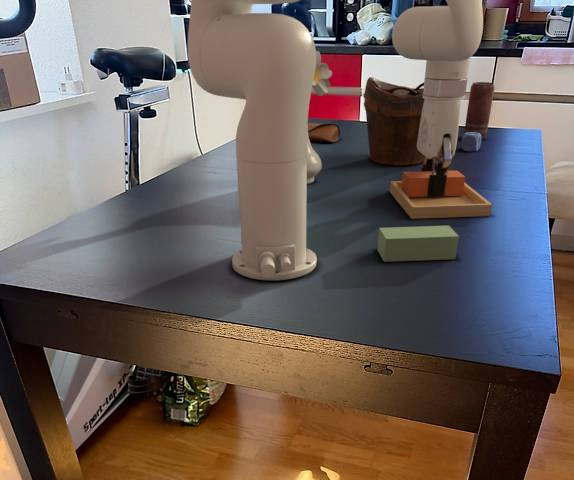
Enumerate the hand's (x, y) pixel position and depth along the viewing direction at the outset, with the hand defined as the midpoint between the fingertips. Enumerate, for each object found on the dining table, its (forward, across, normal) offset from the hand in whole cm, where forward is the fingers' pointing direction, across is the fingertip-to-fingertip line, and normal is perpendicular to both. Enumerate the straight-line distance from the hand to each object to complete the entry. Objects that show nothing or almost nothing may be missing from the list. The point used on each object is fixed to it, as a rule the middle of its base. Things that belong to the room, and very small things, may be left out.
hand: (431, 190), depth 114 cm
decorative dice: (+1, -41, +22) cm, 47 cm away
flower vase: (+2, -16, -25) cm, 30 cm away
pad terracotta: (0, 0, 0) cm, 0 cm away
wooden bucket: (+1, -32, +1) cm, 32 cm away
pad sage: (+2, +30, -11) cm, 32 cm away
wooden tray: (+1, +4, 0) cm, 4 cm away
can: (+1, -55, +28) cm, 62 cm away
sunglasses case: (+1, -60, -19) cm, 63 cm away
